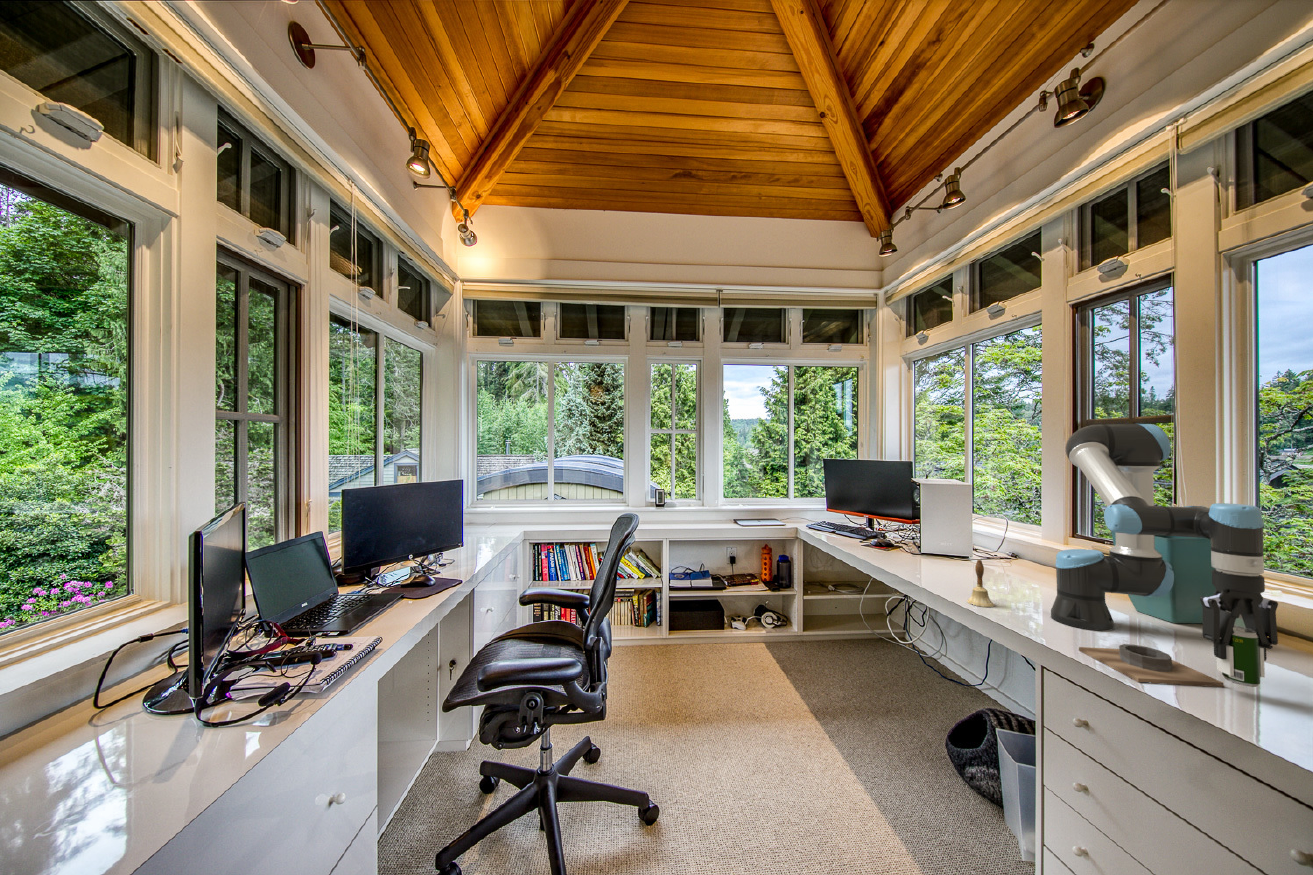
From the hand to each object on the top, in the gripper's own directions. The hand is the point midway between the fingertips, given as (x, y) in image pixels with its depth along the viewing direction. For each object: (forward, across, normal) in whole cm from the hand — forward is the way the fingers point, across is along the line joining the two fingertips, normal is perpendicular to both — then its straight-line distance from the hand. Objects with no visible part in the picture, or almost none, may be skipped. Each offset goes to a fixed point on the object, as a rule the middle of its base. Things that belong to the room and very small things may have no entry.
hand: (1240, 673), depth 104 cm
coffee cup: (+6, +30, +32) cm, 44 cm away
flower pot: (+6, +34, +54) cm, 64 cm away
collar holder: (+5, -9, +12) cm, 16 cm away
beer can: (+2, 0, 0) cm, 2 cm away
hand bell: (+6, -22, +61) cm, 66 cm away
